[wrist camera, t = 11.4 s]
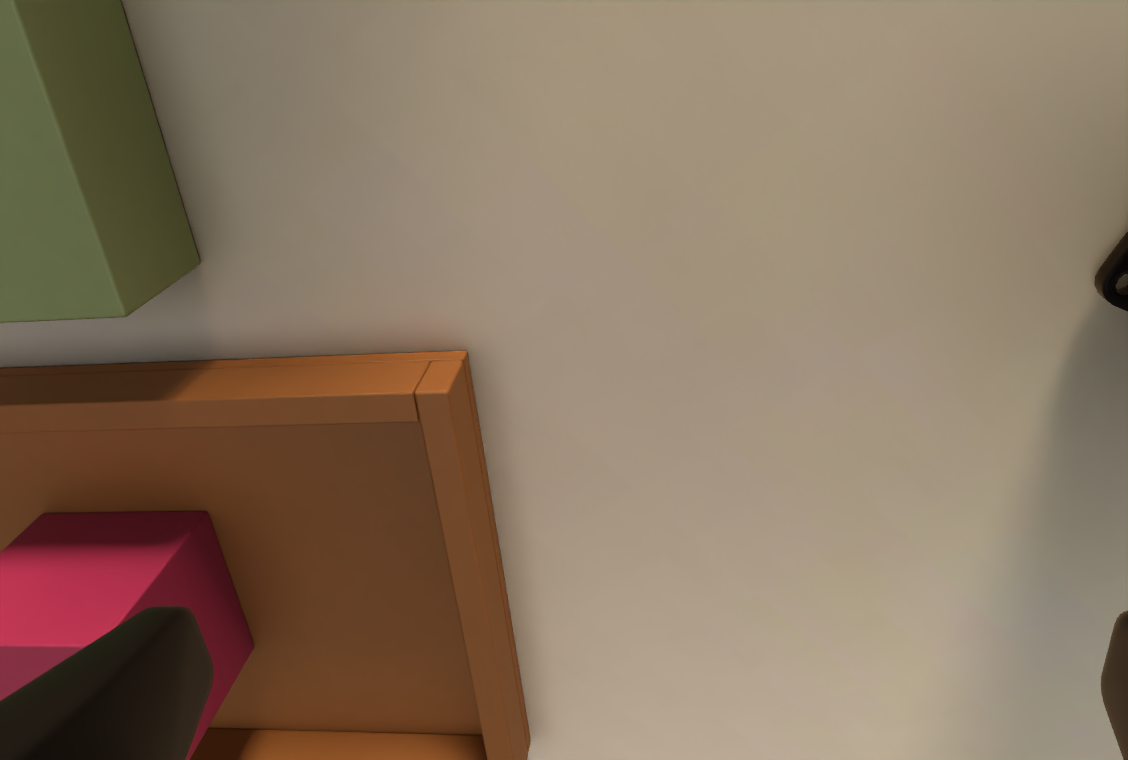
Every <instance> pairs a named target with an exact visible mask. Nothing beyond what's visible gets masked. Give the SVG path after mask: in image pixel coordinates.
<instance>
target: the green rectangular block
mask: <svg viewBox="0 0 1128 760" xmlns="http://www.w3.org/2000/svg"><path fill="white" fill-rule="evenodd" d="M199 264H200V260H199V257H198V254H197V250H196V247H195V244H194V241H193V237H192V234H191V231H190V227H189V224H188V221H187V218H186V214H185V211H184V208H183V204H182V201H181V198H180V195H179V191H178V188H177V185H176V181H175V178H174V175H173V172H172V168H171V165H170V162H169V158H168V155H167V152H166V149H165V145H164V142H163V139H162V136H161V132H160V129H159V126H158V122H157V119H156V116H155V113H154V109H153V106H152V103H151V99H150V96H149V93H148V90H147V86H146V83H145V80H144V76H143V73H142V70H141V67H140V63H139V60H138V57H137V53H136V50H135V47H134V44H133V40H132V37H131V34H130V30H129V27H128V24H127V21H126V17H125V14H124V11H123V7H122V4H121V1H120V0H0V323H7V322H29V321H50V320H72V319H94V318H115V317H126V316H128V315H129V314H131V313H132V312H134V311H135V310H136V309H138V308H139V307H141V306H142V305H143V304H145V303H146V302H148V301H149V300H150V299H152V298H153V297H155V296H156V295H157V294H159V293H160V292H162V291H163V290H164V289H166V288H167V287H169V286H170V285H171V284H173V283H174V282H175V281H177V280H178V279H180V278H181V277H182V276H184V275H185V274H187V273H188V272H189V271H191V270H192V269H194V268H195V267H196V266H198V265H199Z"/></svg>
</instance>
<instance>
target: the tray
mask: <svg viewBox="0 0 1128 760" xmlns="http://www.w3.org/2000/svg"><path fill="white" fill-rule="evenodd" d="M177 511H207V512H208V514H209V517H210V520H211V523H212V526H213V529H214V531H215V534H216V537H217V540H218V543H219V546H220V549H221V551H222V554H223V557H224V560H225V563H226V566H227V569H228V571H229V574H230V577H231V580H232V583H233V586H234V589H235V591H236V594H237V597H238V600H239V603H240V606H241V609H242V611H243V614H244V617H245V620H246V623H247V626H248V629H249V631H250V634H251V637H252V640H253V643H254V649H253V651H252V652H251V654H250V656H249V658H248V659H247V661H246V663H245V665H244V666H243V668H242V670H241V672H240V673H239V675H238V677H237V678H236V680H235V682H234V684H233V685H232V687H231V689H230V691H229V692H228V694H227V696H226V697H225V699H224V701H223V703H222V704H221V706H220V708H219V710H218V711H217V713H216V715H215V717H214V718H213V720H212V722H211V723H210V725H209V727H208V729H207V730H206V732H205V734H204V736H203V737H202V739H201V741H200V742H199V744H198V746H197V748H196V749H195V751H194V753H193V755H192V756H191V758H190V760H527V757H528V751H529V747H530V741H531V740H530V734H529V728H528V721H527V715H526V709H525V703H524V697H523V691H522V685H521V678H520V672H519V666H518V660H517V654H516V648H515V641H514V635H513V629H512V623H511V617H510V611H509V605H508V598H507V592H506V586H505V580H504V574H503V568H502V561H501V555H500V549H499V543H498V537H497V531H496V525H495V518H494V512H493V506H492V500H491V494H490V488H489V481H488V475H487V469H486V463H485V457H484V451H483V445H482V438H481V432H480V426H479V420H478V414H477V408H476V402H475V395H474V389H473V383H472V377H471V371H470V365H469V358H468V353H467V351H442V352H416V353H390V354H364V355H338V356H312V357H286V358H260V359H234V360H208V361H182V362H156V363H130V364H104V365H78V366H52V367H26V368H0V552H1V551H2V550H3V549H4V548H6V547H7V546H8V545H9V544H10V543H11V542H12V541H13V540H14V539H15V538H16V537H17V536H18V535H19V534H21V533H22V532H23V531H24V530H25V529H26V528H27V527H28V526H29V525H30V524H31V523H32V522H33V521H34V520H36V519H37V518H38V517H39V516H40V515H41V514H43V513H91V512H177Z"/></svg>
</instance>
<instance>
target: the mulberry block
mask: <svg viewBox="0 0 1128 760" xmlns="http://www.w3.org/2000/svg"><path fill="white" fill-rule="evenodd" d="M153 606H183V607H186V608H188V609H189V610H191V611H192V612H193V614H194V616H195V618H196V620H197V623H198V625H199V628H200V630H201V633H202V636H203V638H204V641H205V643H206V646H207V648H208V651H209V654H210V656H211V659H212V662H213V669H214V676H213V683H212V687H211V690H210V693H209V696H208V699H207V702H206V704H205V707H204V710H203V713H202V716H201V718H200V721H199V724H198V727H197V730H196V733H195V735H194V738H193V741H192V744H191V747H190V749H189V752H188V755H187V758H186V760H190V758H191V756H192V755H193V753H194V751H195V749H196V748H197V746H198V744H199V742H200V741H201V739H202V737H203V736H204V734H205V732H206V730H207V729H208V727H209V725H210V723H211V722H212V720H213V718H214V717H215V715H216V713H217V711H218V710H219V708H220V706H221V704H222V703H223V701H224V699H225V697H226V696H227V694H228V692H229V691H230V689H231V687H232V685H233V684H234V682H235V680H236V678H237V677H238V675H239V673H240V672H241V670H242V668H243V666H244V665H245V663H246V661H247V659H248V658H249V656H250V654H251V652H252V651H253V649H254V643H253V640H252V637H251V634H250V631H249V629H248V626H247V623H246V620H245V617H244V614H243V611H242V609H241V606H240V603H239V600H238V597H237V594H236V591H235V589H234V586H233V583H232V580H231V577H230V574H229V571H228V569H227V566H226V563H225V560H224V557H223V554H222V551H221V549H220V546H219V543H218V540H217V537H216V534H215V531H214V529H213V526H212V523H211V520H210V517H209V514H208V512H207V511H177V512H91V513H43V514H41V515H40V516H39V517H38V518H37V519H36V520H34V521H33V522H32V523H31V524H30V525H29V526H28V527H27V528H26V529H25V530H24V531H23V532H22V533H21V534H19V535H18V536H17V537H16V538H15V539H14V540H13V541H12V542H11V543H10V544H9V545H8V546H7V547H6V548H4V549H3V550H2V551H1V552H0V701H1V700H3V699H4V698H6V697H7V696H9V695H10V694H12V693H14V692H15V691H17V690H18V689H20V688H21V687H23V686H25V685H26V684H28V683H29V682H31V681H32V680H34V679H35V678H37V677H39V676H40V675H42V674H43V673H45V672H46V671H48V670H50V669H51V668H53V667H54V666H56V665H57V664H59V663H61V662H62V661H64V660H65V659H67V658H68V657H70V656H72V655H73V654H75V653H76V652H78V651H79V650H81V649H83V648H84V647H86V646H87V645H89V644H90V643H92V642H93V641H95V640H97V639H98V638H100V637H101V636H103V635H104V634H106V633H108V632H109V631H111V630H112V629H114V628H115V627H117V626H119V625H120V624H122V623H123V622H125V621H126V620H128V619H130V618H131V617H133V616H134V615H136V614H137V613H139V612H141V611H142V610H144V609H146V608H148V607H153Z"/></svg>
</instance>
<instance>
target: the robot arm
mask: <svg viewBox="0 0 1128 760" xmlns="http://www.w3.org/2000/svg"><path fill="white" fill-rule="evenodd" d="M1125 274H1128V232H1127V233H1126V234H1125V236H1124V237H1123V238H1122V240H1121V241H1120V242H1119V244H1118V245H1117V246H1116V247H1115V249H1114V250H1113V251H1112V253H1111V254H1110V255H1109V257H1108V258H1107V259H1106V261H1105V262H1104V263H1103V265H1102V266H1101V267H1100V269H1099V270H1098V272H1097V274H1096V276H1095V287H1096V290H1097V292H1098V293H1099V294H1100V295H1101V296H1102V297H1103V298H1105V299H1106V300H1107V301H1108V302H1110V303H1111V304H1112V305H1114V306H1116V307H1119V308H1121V309H1123V310H1126V311H1128V285H1127V286H1126V287H1124V288H1120V289H1116V284H1117V282H1118V280H1119V279H1120V278H1121V277H1122V276H1123V275H1125ZM213 676H214V669H213V662H212V659H211V656H210V654H209V651H208V648H207V646H206V643H205V641H204V638H203V636H202V633H201V630H200V628H199V625H198V623H197V620H196V618H195V616H194V614H193V612H192V611H191V610H189V609H188V608H186V607H183V606H153V607H148V608H146V609H144V610H142V611H141V612H139V613H137V614H136V615H134V616H133V617H131V618H130V619H128V620H126V621H125V622H123V623H122V624H120V625H119V626H117V627H115V628H114V629H112V630H111V631H109V632H108V633H106V634H104V635H103V636H101V637H100V638H98V639H97V640H95V641H93V642H92V643H90V644H89V645H87V646H86V647H84V648H83V649H81V650H79V651H78V652H76V653H75V654H73V655H72V656H70V657H68V658H67V659H65V660H64V661H62V662H61V663H59V664H57V665H56V666H54V667H53V668H51V669H50V670H48V671H46V672H45V673H43V674H42V675H40V676H39V677H37V678H35V679H34V680H32V681H31V682H29V683H28V684H26V685H25V686H23V687H21V688H20V689H18V690H17V691H15V692H14V693H12V694H10V695H9V696H7V697H6V698H4V699H3V700H1V701H0V760H186V758H187V755H188V752H189V749H190V747H191V744H192V741H193V738H194V735H195V733H196V730H197V727H198V724H199V721H200V718H201V716H202V713H203V710H204V707H205V704H206V702H207V699H208V696H209V693H210V690H211V687H212V683H213ZM1101 692H1102V697H1103V702H1104V705H1105V708H1106V711H1107V714H1108V716H1109V719H1110V722H1111V725H1112V728H1113V731H1114V734H1115V736H1116V739H1117V742H1118V745H1119V748H1120V751H1121V753H1122V756H1123V759H1124V760H1128V611H1126V612H1123V613H1122V614H1120V616H1119V617H1118V618H1117V620H1116V622H1115V625H1114V629H1113V633H1112V636H1111V640H1110V644H1109V648H1108V652H1107V656H1106V660H1105V663H1104V667H1103V671H1102V676H1101Z"/></svg>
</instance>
